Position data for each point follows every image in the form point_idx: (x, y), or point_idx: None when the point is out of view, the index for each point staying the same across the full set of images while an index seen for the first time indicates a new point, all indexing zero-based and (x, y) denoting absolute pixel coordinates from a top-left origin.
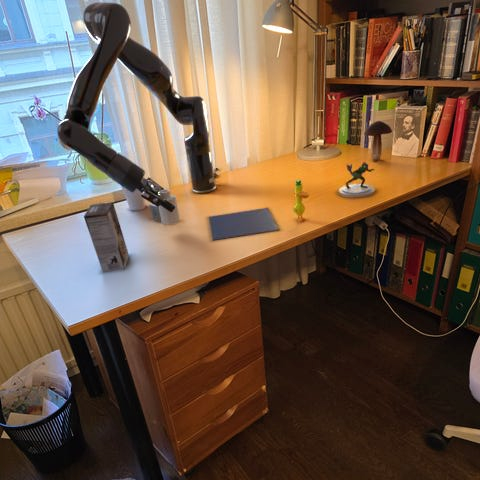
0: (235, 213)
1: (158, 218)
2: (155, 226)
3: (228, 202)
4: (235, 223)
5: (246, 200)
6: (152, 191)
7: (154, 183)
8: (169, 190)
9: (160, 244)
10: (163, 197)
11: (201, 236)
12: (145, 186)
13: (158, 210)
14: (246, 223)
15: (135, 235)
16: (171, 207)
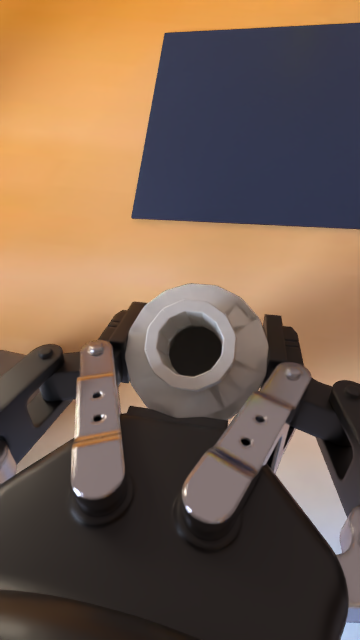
0: (155, 127)
1: None
2: None
3: (22, 139)
4: (256, 137)
5: (44, 84)
6: (267, 465)
7: (77, 419)
8: (199, 301)
9: None
10: (229, 369)
11: (322, 266)
12: (321, 577)
13: None
14: (277, 104)
15: None
16: (294, 337)
